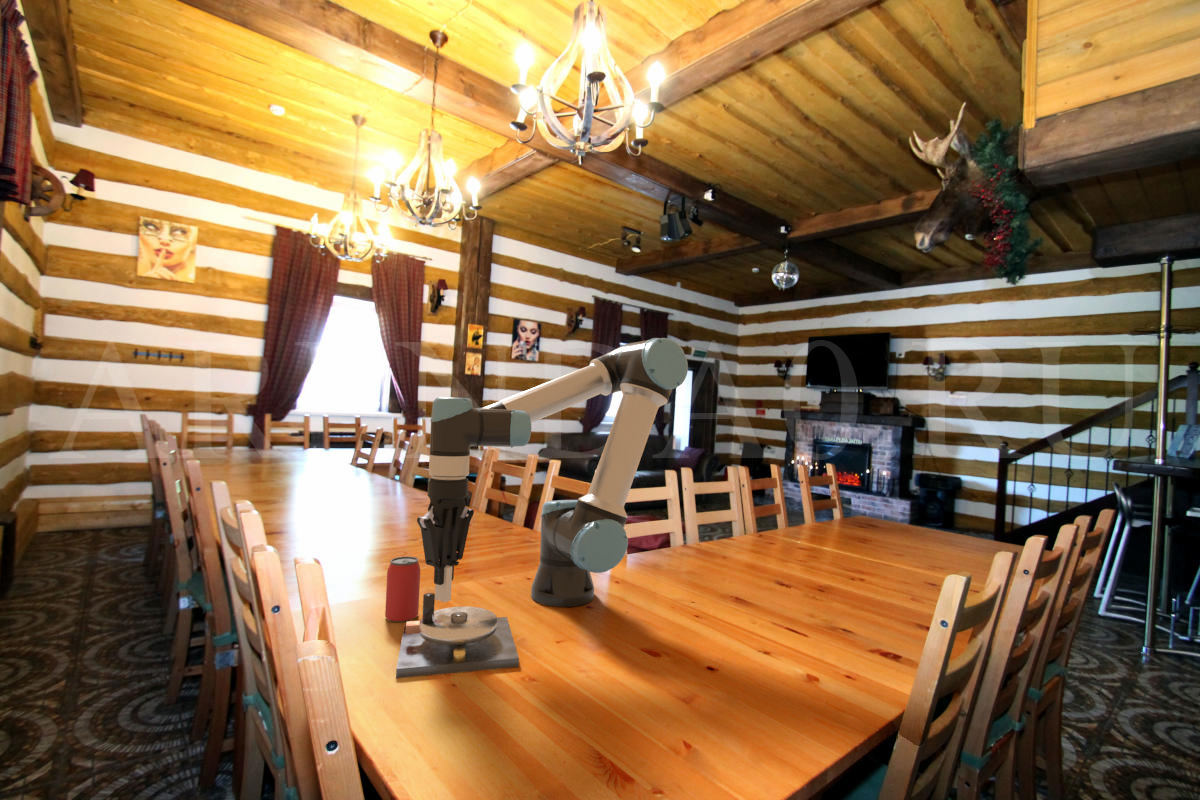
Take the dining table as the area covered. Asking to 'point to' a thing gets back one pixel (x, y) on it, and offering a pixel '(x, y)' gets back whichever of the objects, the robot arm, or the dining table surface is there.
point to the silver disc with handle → (452, 623)
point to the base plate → (443, 654)
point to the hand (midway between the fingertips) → (442, 599)
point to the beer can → (402, 589)
